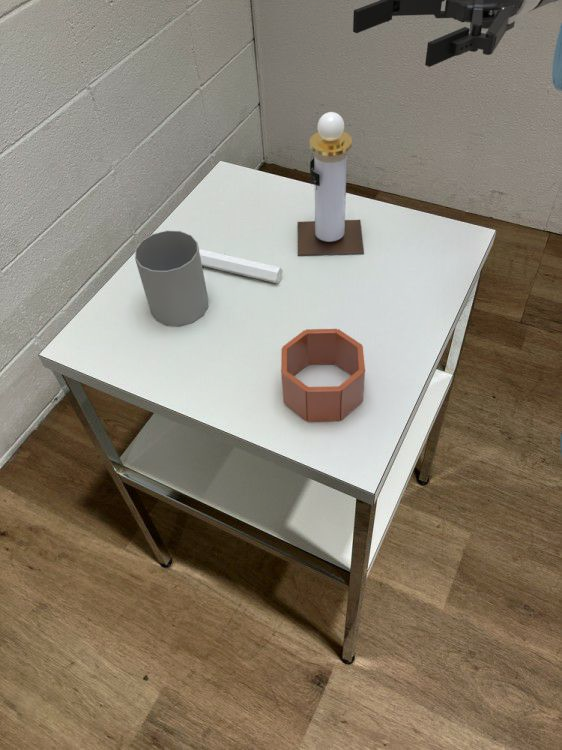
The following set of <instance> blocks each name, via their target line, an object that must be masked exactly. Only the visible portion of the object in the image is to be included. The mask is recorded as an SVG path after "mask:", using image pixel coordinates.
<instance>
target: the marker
mask: <svg viewBox="0 0 562 750" xmlns="http://www.w3.org/2000/svg"><path fill="white" fill-rule="evenodd" d="M199 253H200V258H201V263H202V267H205V268H210V269H214V270H219V271H222V272H227V273H231V274H234V275H239V276H244V277H249V278H252V279H257V280H261V281H264V282H268V283H273V284H277V285H278V284H279V283H280V282H281V279H282V278H283V277H282V276H283V269H282V267H280V266H276V265H271V264H268V263H263V262H258V261H254V260H249V259H245V258H241V257H236V256H232V255H228V254H223V253H220V252H214V251H210V250H206V249H201V248H199Z"/></svg>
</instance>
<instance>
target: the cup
mask: <svg viewBox="0 0 562 750" xmlns="http://www.w3.org/2000/svg"><path fill="white" fill-rule="evenodd" d="M199 247H200V246H199V242H198V241H197V240H196V238H194V237H193V235H192V234H189V233H187V232H183V231H181V230H163V231H159V232H155V233H153V234H151V235H149V236H147V237H146V238H144V239H142V240H141V241H140V243H138V245H137V247H135V250H134V252H135V253H134V261H135V265H136V267H137V271H138V274H139V278H140V280H141V284H142V288H143V291H144V294H145V299H146V301H147V305H148V308H149V312H150V314H151V315H152V317H153V319H154V320H155V321H156V322H158V323H159V324H162V325H164V326H167V327H183V326H187V325H189V324H193V323H194V322H196V321H198V320H199V319H201V318H202V317H204V315H205V313H206V312H207V310H208V308H209V295H208V290H207V284H206V279H205V275H204V270H203V266H202V263H201V258H200V253H199V249H200V248H199Z"/></svg>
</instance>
